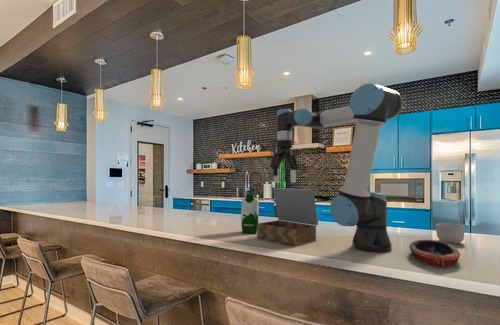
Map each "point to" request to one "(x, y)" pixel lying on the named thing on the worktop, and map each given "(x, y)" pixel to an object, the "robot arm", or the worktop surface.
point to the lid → (296, 205)
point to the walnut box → (286, 232)
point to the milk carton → (249, 214)
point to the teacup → (450, 233)
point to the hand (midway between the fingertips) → (285, 182)
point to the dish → (434, 252)
